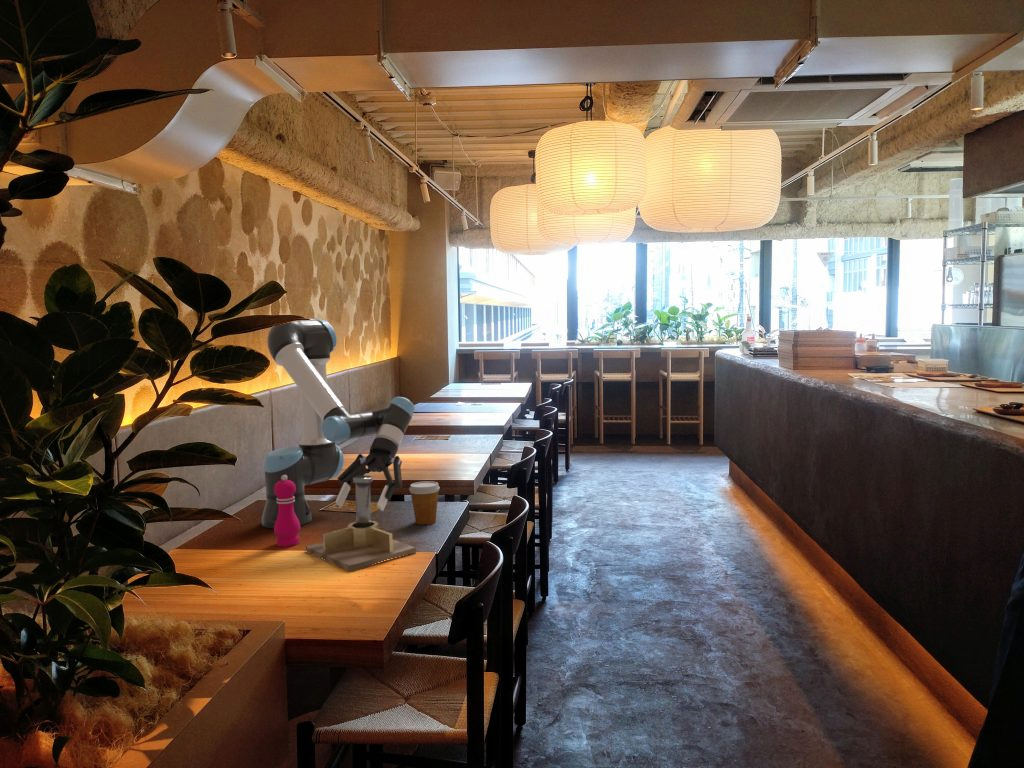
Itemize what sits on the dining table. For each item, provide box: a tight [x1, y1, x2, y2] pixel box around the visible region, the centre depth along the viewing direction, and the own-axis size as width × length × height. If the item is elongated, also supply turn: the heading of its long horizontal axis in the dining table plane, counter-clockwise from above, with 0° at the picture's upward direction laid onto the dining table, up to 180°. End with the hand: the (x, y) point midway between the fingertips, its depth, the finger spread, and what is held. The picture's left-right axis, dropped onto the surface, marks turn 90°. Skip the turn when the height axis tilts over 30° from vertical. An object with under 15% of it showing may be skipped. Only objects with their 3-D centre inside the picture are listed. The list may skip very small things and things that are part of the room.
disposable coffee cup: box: [409, 481, 441, 526], centre depth 223 cm, size 10×10×12 cm
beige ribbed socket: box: [322, 520, 394, 553], centre depth 192 cm, size 18×16×5 cm
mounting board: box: [305, 539, 417, 572], centre depth 195 cm, size 24×20×2 cm
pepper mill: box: [273, 475, 301, 548], centre depth 204 cm, size 7×7×20 cm
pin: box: [352, 475, 373, 528], centre depth 198 cm, size 5×5×18 cm
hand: (358, 506), depth 196 cm, fingers open, 13 cm apart
